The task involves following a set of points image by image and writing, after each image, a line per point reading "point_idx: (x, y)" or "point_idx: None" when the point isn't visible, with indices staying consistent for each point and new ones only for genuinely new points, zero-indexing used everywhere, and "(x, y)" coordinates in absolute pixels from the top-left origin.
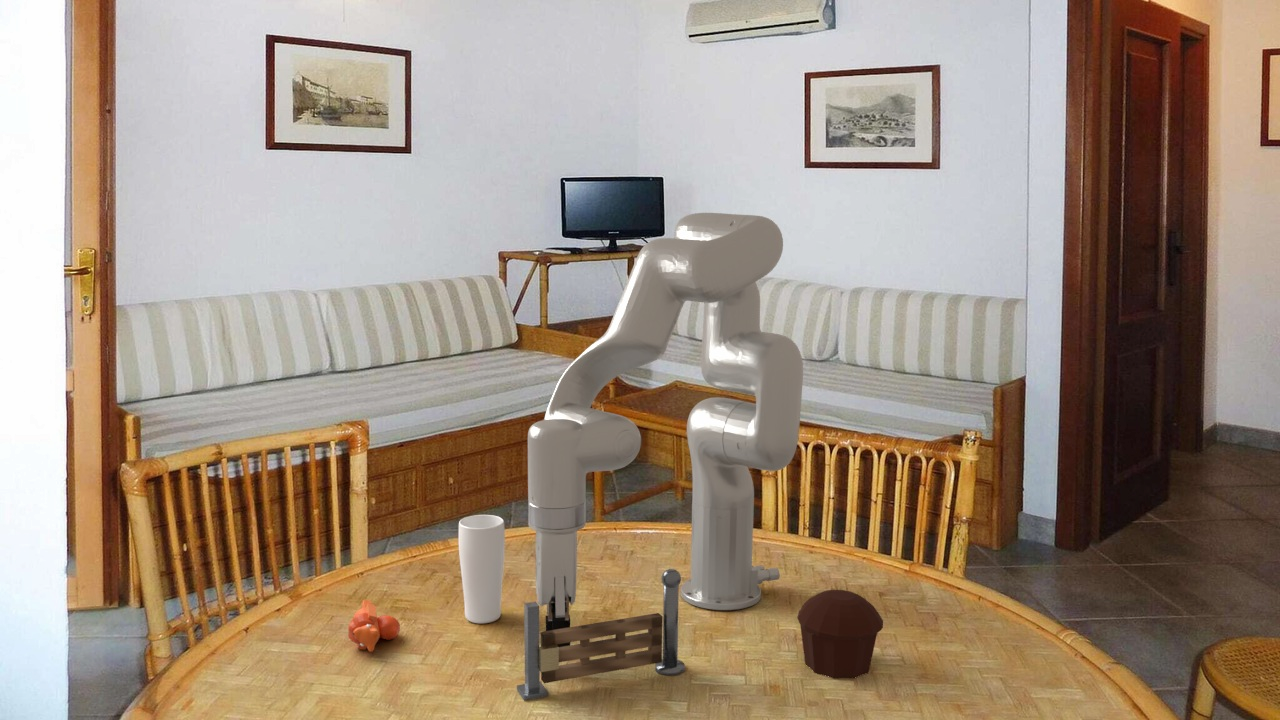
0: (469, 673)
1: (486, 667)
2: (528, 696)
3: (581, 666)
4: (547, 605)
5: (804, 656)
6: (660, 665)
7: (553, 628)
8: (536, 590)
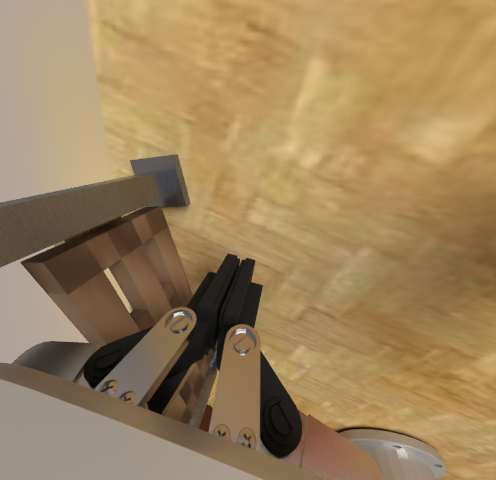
0: (286, 23)
1: (307, 93)
2: (134, 169)
3: (158, 279)
4: (222, 362)
5: (204, 413)
6: (215, 346)
7: (191, 299)
8: (98, 477)
